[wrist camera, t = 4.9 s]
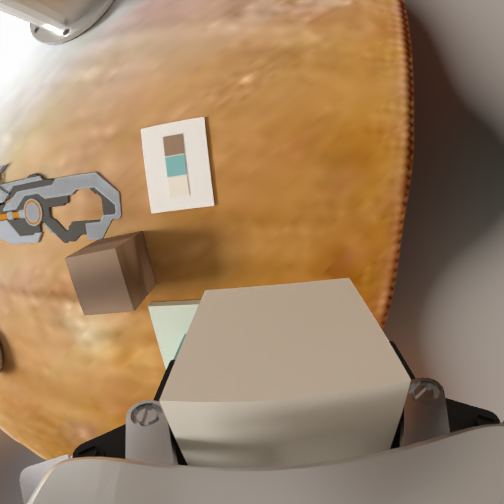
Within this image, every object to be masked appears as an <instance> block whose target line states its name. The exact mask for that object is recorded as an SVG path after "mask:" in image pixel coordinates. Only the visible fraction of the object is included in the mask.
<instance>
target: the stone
mask: <svg viewBox="0 0 504 504" xmlns="http://www.w3.org/2000/svg"><path fill="white" fill-rule="evenodd" d="M2 364H3V353H2V348H1V345H0V370H1V368H2Z"/></svg>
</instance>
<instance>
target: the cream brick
mask: <svg viewBox="0 0 504 504" xmlns="http://www.w3.org/2000/svg"><path fill="white" fill-rule="evenodd" d="M410 382H411V379H410V377H409V375H408V373H407V372H406V370H405V368H404V366H403V365H402V363H401V361H400V359H399V358H398V356H397V354H396V353H395V351H394V349H393V348H392V346H391V344H390V343H389V341H388V339H387V338H386V336H385V334H384V333H383V331H382V329H381V328H380V326H379V324H378V323H377V321H376V320H375V318H374V316H373V315H372V313H371V311H370V310H369V308H368V307H367V305H366V304H365V302H364V300H363V299H362V297H361V296H360V294H359V293H358V291H357V290H356V288H355V286H354V285H353V283H352V282H351V280H350V279H349V278H342V279H333V280H323V281H312V282H302V283H291V284H280V285H268V286H256V287H243V288H230V289H216V290H205V291H204V294H203V296H202V298H201V301H200V303H199V305H198V308H197V310H196V312H195V315H194V317H193V319H192V322H191V324H190V327H189V329H188V331H187V334H186V336H185V338H184V341H183V343H182V346H181V348H180V350H179V353H178V355H177V358H176V360H175V363H174V365H173V367H172V370H171V372H170V375H169V377H168V380H167V382H166V385H165V387H164V390H163V392H162V395H161V397H160V400H159V401H160V404H161V406H162V409H163V411H164V414H165V416H166V418H167V421H168V423H169V425H170V428H171V430H172V432H173V434H174V437H175V439H176V441H177V443H178V445H179V448H180V450H181V452H182V454H183V456H184V458H185V460H186V462H187V464H188V466H201V467H272V466H288V465H299V464H309V463H318V462H326V461H333V460H339V459H346V458H352V457H357V456H362V455H368V454H372V453H377V452H382V451H386V450H390V447H391V444H392V442H393V439H394V436H395V433H396V430H397V427H398V424H399V421H400V417H401V414H402V411H403V408H404V404H405V401H406V397H407V393H408V390H409V386H410Z"/></svg>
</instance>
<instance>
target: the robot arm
mask: <svg viewBox="0 0 504 504" xmlns="http://www.w3.org/2000/svg"><path fill="white" fill-rule="evenodd" d="M113 1H114V0H0V10H1V11H3V12H6V13H8V14H11V15H13V16H16V17H18V18H21V19H23V20H25V21H28V22H30V28H31V33H32V35H33V37H34V38H35V39H36V40H38V41H40V42H42V43H45V44H49V45H56V44H60V43H64V42H66V41H69V40H71V39H73V38H75V37H76V36H78V35H80V34H81V33H83V32H84V31H85V30H87V29H88V28H90V27H91V26H92V25H93V24H94V23H95V22H96V21H97V20H98V19H99V18H100V17H101V16H102V15H103V14H104V13H105V12H106V11H107V9H108V8H109V6H110V5H111V4H112V2H113ZM389 343H390V344H391V346H392V348H393V349H394V351H395V353H396V354H397V356H398V358H399V359H400V361H401V363H402V365H403V366H404V368H405V370H406V372H407V373H408V375H409V377H410V379H411V382H410V386H409V390H408V393H407V397H406V401H405V404H404V408H403V411H402V414H401V417H400V421H399V424H398V427H397V430H396V433H395V436H394V439H393V442H392V444H391V447H390V450H386V451H382V452H377V453H372V454H368V455H362V456H357V457H352V458H346V459H339V460H333V461H326V462H318V463H309V464H299V465H288V466H272V467H201V466H188V464H187V462H186V460H185V458H184V456H183V454H182V452H181V450H180V448H179V445H178V443H177V441H176V439H175V437H174V434H173V432H172V430H171V428H170V425H169V423H168V421H167V418H166V416H165V414H164V411H163V409H162V406H161V404H160V401H159V400H160V397H161V395H162V392H163V390H164V387H165V385H166V382H167V380H168V377H169V375H170V372H171V370H172V367H173V365H174V363H175V360H171V361H170V363H169V365H168V367H167V369H166V372H165V374H164V376H163V379H162V381H161V383H160V386H159V388H158V390H157V393H156V395H155V398H154V400H145V401H141V402H139V403H137V404H135V405H133V406H132V407H131V408H130V409H129V411H128V412H127V416H126V424H125V425H123V426H120V427H118V428H116V429H114V430H112V431H110V432H107V433H105V434H103V435H101V436H99V437H96V438H94V439H92V440H89V441H87V442H85V443H83V444H81V445H79V446H78V447H77V448H76V449H75V451H74V453H73V456H71V457H69V455H68V454H66V455H64V456H61V457H58V458H54V459H51V460H48V461H45V462H42V463H39V464H35V465H32V466H29V467H27V468H25V469H24V470H23V471H22V473H21V475H20V486H21V491H22V495H23V501H24V504H504V421H503V422H500V420H499V419H498V417H497V416H496V415H495V414H494V413H493V412H490V411H488V410H484V409H481V408H477V407H474V406H470V405H467V404H464V403H460V402H457V401H454V400H450V399H447V398H445V393H444V389H443V387H442V385H441V384H440V383H439V382H437V381H436V380H434V379H431V378H424V377H422V378H415V377H414V375H413V373H412V372H411V370H410V368H409V367H408V365H407V363H406V362H405V360H404V359H403V357H402V355H401V353H400V352H399V350H398V348H397V347H396V345H395V344H394V342H392V341H389Z"/></svg>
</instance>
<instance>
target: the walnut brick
mask: <svg viewBox="0 0 504 504" xmlns="http://www.w3.org/2000/svg"><path fill="white" fill-rule="evenodd" d="M65 260H66V263H67V266H68V270H69V273H70V276H71V279H72V282H73V285H74V288H75V291H76V294H77V297H78V299H79V302H80V305H81V308H82V310H83V313H84V315H95V314H108V313H120V312H131V311H135V310H136V308H137V307H138V306H139V305H140V304H141V302H142V301H143V300H144V299H145V297H146V296H147V295H148V294H149V293H150V291H151V290H152V289H153V288H154V287H155V285H156V281H155V277H154V274H153V270H152V266H151V262H150V259H149V255H148V251H147V247H146V243H145V239H144V235H143V231H140V232H135V233H130V234H125V235H120V236H116V237H111V238H106V239H101V240H97V241H95V242H93V243H91V244H89V245H88V246H86V247H84V248H82V249H80V250H79V251H77V252H75V253H73V254H72V255H70V256H68V257H66V258H65Z"/></svg>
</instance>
